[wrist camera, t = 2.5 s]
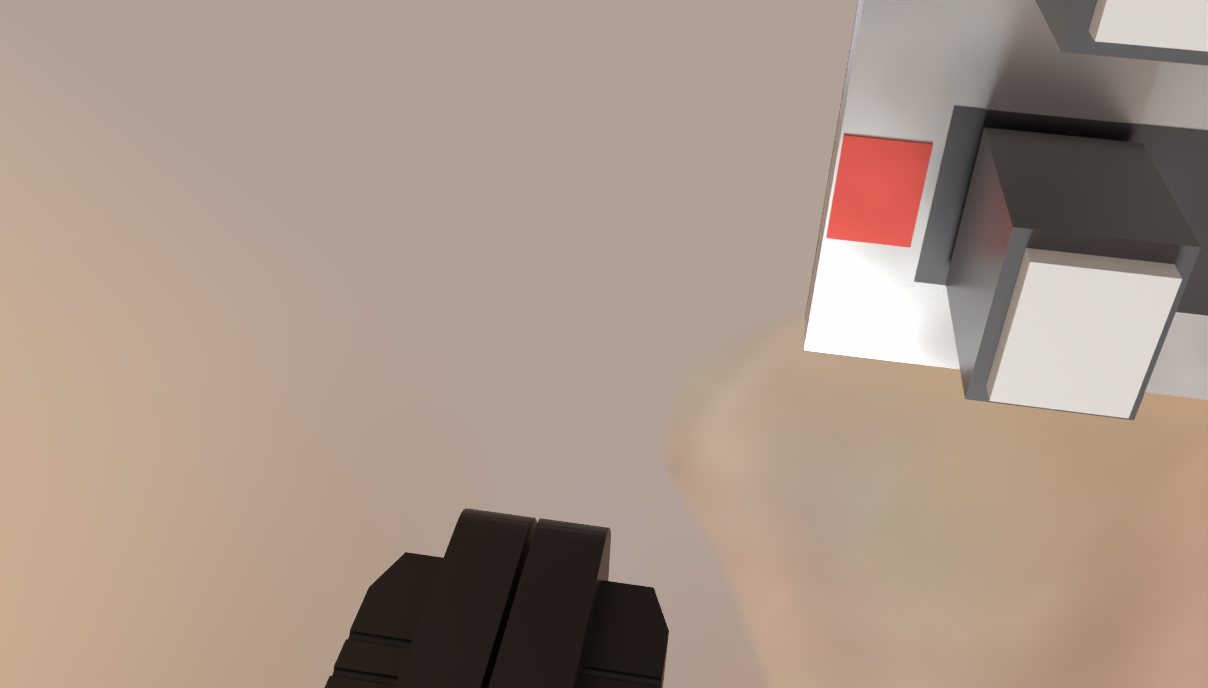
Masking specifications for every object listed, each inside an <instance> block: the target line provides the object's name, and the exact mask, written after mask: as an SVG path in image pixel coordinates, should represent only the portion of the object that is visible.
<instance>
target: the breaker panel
mask: <svg viewBox="0 0 1208 688" xmlns="http://www.w3.org/2000/svg"><path fill="white" fill-rule="evenodd" d="M984 127H985V128H995V129H1005V130H1015V131H1025V132H1036V133H1046V134H1056V135H1066V136H1076V137H1086V138H1096V139H1106V140H1116V141H1126V142H1136V143H1142V144H1143V146H1144V147H1145V149H1146V151H1147V153H1148V154H1149V156H1150V158H1151V160H1152V162H1153V163H1154V165H1155V167H1156V169H1157V170H1158V172H1159V174H1160V176H1161V177H1162V179H1163V181H1164V183H1165V185H1166V186H1167V188H1168V190H1169V192H1170V193H1171V195H1172V197H1173V199H1174V200H1175V202H1176V204H1177V206H1178V208H1179V209H1180V211H1181V213H1182V215H1183V216H1184V218H1185V220H1186V222H1187V223H1188V225H1189V227H1190V229H1191V231H1192V232H1193V234H1194V236H1195V238H1196V239H1197V241H1198V243H1199V245H1200V247H1201V249H1200V251H1199V254H1198V257H1197V259H1196V262H1195V264H1194V267H1193V269H1192V272H1191V275H1190V277H1189V280H1188V282H1187V285H1186V287H1185V290H1184V293H1183V295H1182V298H1181V300H1180V303H1179V305H1178V308H1177V311H1176V313H1175V316H1174V318H1173V321H1172V323H1171V326H1170V329H1169V331H1168V334H1167V336H1166V339H1165V341H1164V344H1163V347H1162V349H1161V352H1160V354H1159V357H1158V359H1157V362H1156V365H1155V367H1154V370H1153V372H1152V375H1151V377H1150V380H1149V383H1148V385H1147V388H1146V390H1145V392H1148V393H1156V394H1164V395H1172V396H1180V397H1188V398H1196V399H1204V400H1208V66H1207V65H1196V64H1185V63H1174V62H1163V61H1152V60H1141V59H1130V58H1119V57H1109V56H1098V55H1087V54H1076V53H1065V52H1061V51H1060V49H1059V47H1058V45H1057V43H1056V41H1055V39H1054V37H1053V35H1052V33H1051V31H1050V29H1049V27H1048V25H1047V23H1046V21H1045V19H1044V17H1043V15H1042V13H1041V11H1040V9H1039V7H1038V5H1037V3H1036V1H1035V0H858V4H857V10H856V16H855V22H854V28H853V33H852V40H851V46H850V51H849V58H848V63H847V69H846V76H845V81H844V88H843V93H842V99H841V105H840V111H839V118H838V123H837V129H836V135H835V141H834V147H833V153H832V159H831V165H830V171H829V177H828V183H827V189H826V195H825V201H824V207H823V212H822V218H821V225H820V230H819V236H818V242H817V248H816V255H815V260H814V266H813V272H812V279H811V285H810V290H809V296H808V302H807V308H806V314H805V333H804V350H808V351H816V352H824V353H832V354H840V355H848V356H856V357H864V358H872V359H880V360H889V361H897V362H905V363H913V364H921V365H929V366H937V367H945V368H953V369H960V366H959V360H958V354H957V348H956V342H955V336H954V330H953V325H952V319H951V313H950V307H949V301H948V295H947V289H946V279H947V275H948V271H949V267H950V263H951V259H952V255H953V251H954V247H955V243H956V239H957V235H958V231H959V227H960V223H961V219H962V215H963V210H964V206H965V202H966V198H967V194H968V190H969V186H970V182H971V178H972V174H973V170H974V166H975V162H976V158H977V154H978V150H979V146H980V142H981V138H982V133H983V129H984Z"/></svg>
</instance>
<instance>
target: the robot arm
mask: <svg viewBox="0 0 1208 688" xmlns="http://www.w3.org/2000/svg"><path fill="white" fill-rule="evenodd" d="M610 541H611V531H610V528H605V527H598V526H590V525H584V524H577V523H569V522H561V521H555V520H547V519H541V518H540V519H539V521H538V522H537V521H536V519H535V518H531V517H523V516H517V515H510V514H502V513H495V512H488V511H481V510H474V509H464V510H463V512H462V513H461V515H460V517H459V519H458V522H457V524H456V527H455V529H454V532H453V535H452V537H451V540H450V543H449V545H448V548H447V551H446V553H445V556H444V558H441V557H434V556H427V555H420V554H413V553H407V552H406V553H404V555H402V556H401V557H400V558H399V559H398V560H397V561H396V562H395V563H394V564H393V565H392V566H391V567H390V568H389V569H388V570H387V571H386V572H385V573H384V574H382V575H381V576H380V577H379V578H378V579H377V580H376V581H375V582H374V583H373V584H372V585H371V586H370V587H369V589H368V591H367V593H366V595H365V598H364V600H363V602H362V604H361V607H360V609H359V611H358V613H357V616H356V618H355V620H354V623H353V625H352V627H351V629H350V636H349V639H348V640H346V641H345V643H344V645H343V648H342V650H341V652H340V654H339V656H338V659H337V661H336V663H335V666H334V672H333V675H332V676H330V677H329V679H328V681H327V684H326V686H325V688H663V680H664V671H665V662H666V653H667V644H668V633H669V630H668V627H667V625H666V622H665V619H664V616H663V613H662V610H661V607H660V605H659V602H658V599H657V596H656V593H655V590H654V588H651V587H645V586H638V585H631V584H624V583H617V582H610V581H608V574H609V556H610Z"/></svg>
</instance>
